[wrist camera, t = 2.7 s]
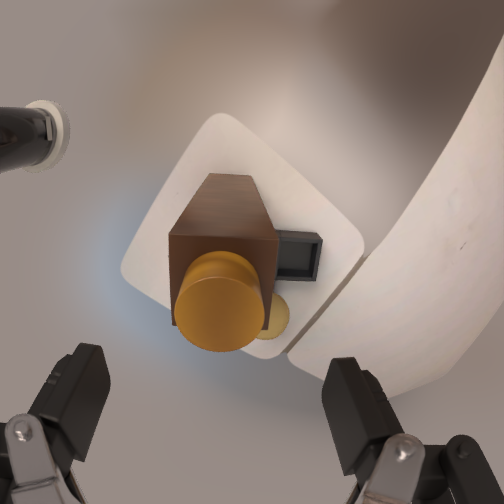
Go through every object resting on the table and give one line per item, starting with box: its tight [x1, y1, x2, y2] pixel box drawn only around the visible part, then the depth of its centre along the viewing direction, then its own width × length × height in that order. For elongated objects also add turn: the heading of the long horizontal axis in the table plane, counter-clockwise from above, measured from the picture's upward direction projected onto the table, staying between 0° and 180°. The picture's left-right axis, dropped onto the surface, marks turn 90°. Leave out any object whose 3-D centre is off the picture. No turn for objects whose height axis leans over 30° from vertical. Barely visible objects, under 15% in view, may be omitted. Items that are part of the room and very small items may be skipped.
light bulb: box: [256, 291, 289, 340], centre depth 41 cm, size 6×6×10 cm
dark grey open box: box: [274, 230, 323, 281], centre depth 42 cm, size 12×6×3 cm, turn 85°
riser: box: [169, 173, 279, 330], centre depth 28 cm, size 6×6×26 cm
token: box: [174, 251, 265, 352], centre depth 14 cm, size 4×4×3 cm
